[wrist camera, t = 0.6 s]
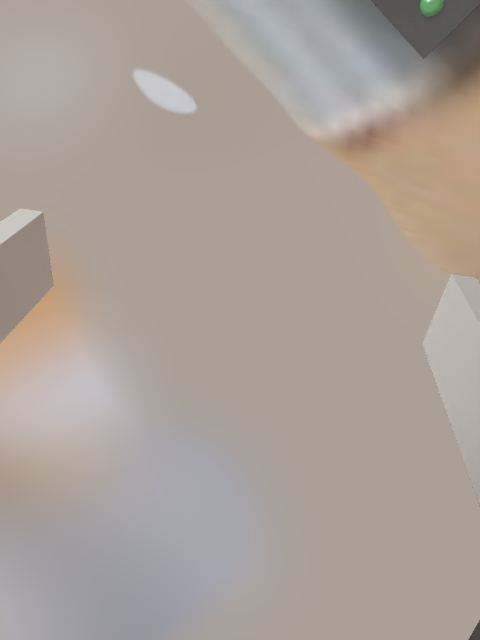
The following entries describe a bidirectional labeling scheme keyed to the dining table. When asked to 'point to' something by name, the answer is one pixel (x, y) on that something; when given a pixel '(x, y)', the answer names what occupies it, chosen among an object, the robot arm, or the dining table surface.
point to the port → (426, 19)
